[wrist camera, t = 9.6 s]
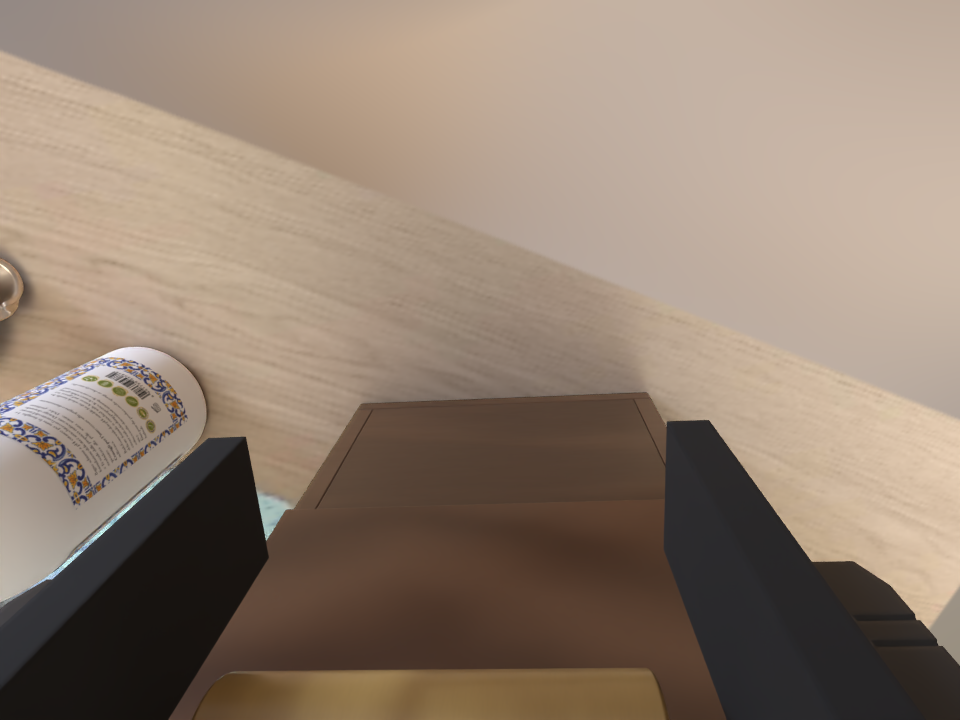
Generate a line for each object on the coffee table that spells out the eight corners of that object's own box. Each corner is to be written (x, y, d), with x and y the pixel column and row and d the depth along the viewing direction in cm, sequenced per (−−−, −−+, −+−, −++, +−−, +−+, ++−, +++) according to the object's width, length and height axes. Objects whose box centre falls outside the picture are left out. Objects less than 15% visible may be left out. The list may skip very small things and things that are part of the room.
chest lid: (1123, 1318, 7) (1339, 938, 5) (-131, 1238, 9) (-386, 903, 6) (710, 516, 23) (721, 338, 21) (288, 527, 24) (257, 360, 22)
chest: (643, 632, 39) (691, 814, 28) (390, 635, 40) (343, 811, 29) (647, 391, 34) (707, 500, 23) (360, 403, 35) (291, 511, 25)
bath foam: (97, 327, 35) (-404, 531, 16) (219, 364, 35) (-130, 607, 16) (85, 437, 37) (-371, 731, 18) (200, 471, 37) (-129, 796, 18)
